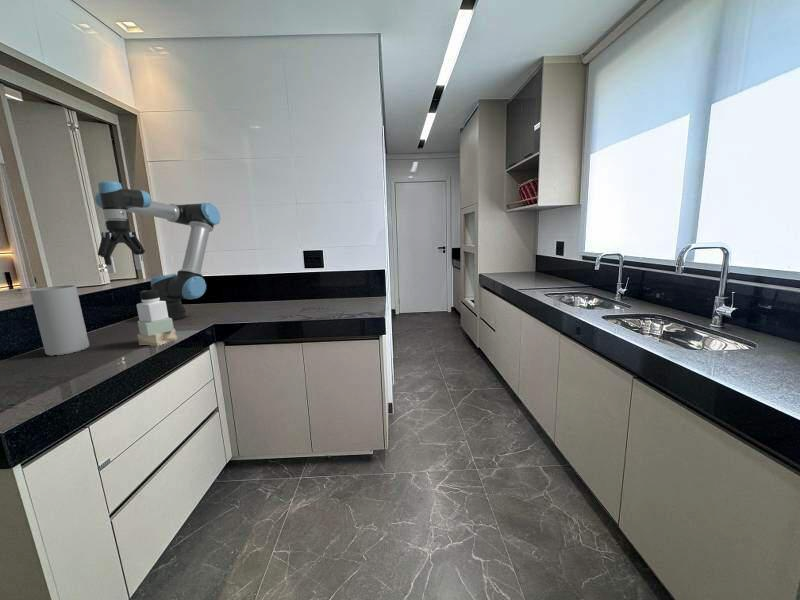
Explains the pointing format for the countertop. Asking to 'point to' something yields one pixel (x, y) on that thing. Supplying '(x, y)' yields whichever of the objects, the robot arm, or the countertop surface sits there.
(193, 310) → the countertop surface
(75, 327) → the cylinder vase
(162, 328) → the upper block
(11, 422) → the countertop surface
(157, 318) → the medicine bottle
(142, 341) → the lower block
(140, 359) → the countertop surface
